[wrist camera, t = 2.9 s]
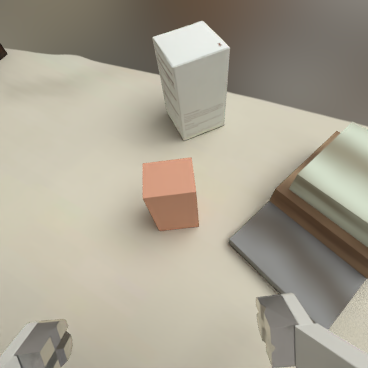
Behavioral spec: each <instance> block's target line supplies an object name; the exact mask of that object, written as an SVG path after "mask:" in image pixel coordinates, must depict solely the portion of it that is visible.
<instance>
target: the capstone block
mask: <svg viewBox="0 0 368 368" xmlns="http://www.w3.org/2000/svg"><path fill="white" fill-rule="evenodd" d="M143 200H144V202H145V204H146V206H147V208H148V210H149V212H150V214H151V216H152V217H153V219H154V221H155V223H156V225H157V227H158V229H159V231H164V230H173V229H182V228H190V227H199V220H198V208H197V197H196V187H195V180H194V173H193V165H192V158H183V159H175V160H167V161H159V162H151V163H143Z"/></svg>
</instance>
